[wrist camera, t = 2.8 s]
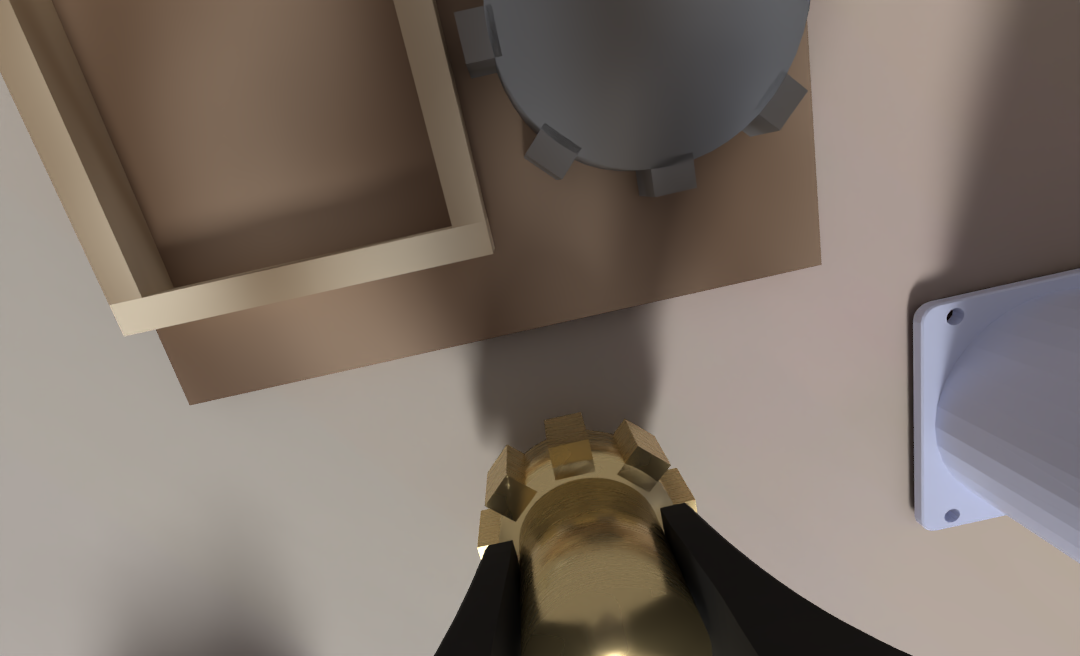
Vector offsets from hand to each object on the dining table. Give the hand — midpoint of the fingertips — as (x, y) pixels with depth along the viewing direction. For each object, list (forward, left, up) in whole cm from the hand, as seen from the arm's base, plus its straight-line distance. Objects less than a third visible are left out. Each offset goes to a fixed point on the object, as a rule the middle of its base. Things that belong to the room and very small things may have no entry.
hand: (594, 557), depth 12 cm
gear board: (+1, -12, -4) cm, 13 cm away
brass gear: (0, 0, -2) cm, 2 cm away
